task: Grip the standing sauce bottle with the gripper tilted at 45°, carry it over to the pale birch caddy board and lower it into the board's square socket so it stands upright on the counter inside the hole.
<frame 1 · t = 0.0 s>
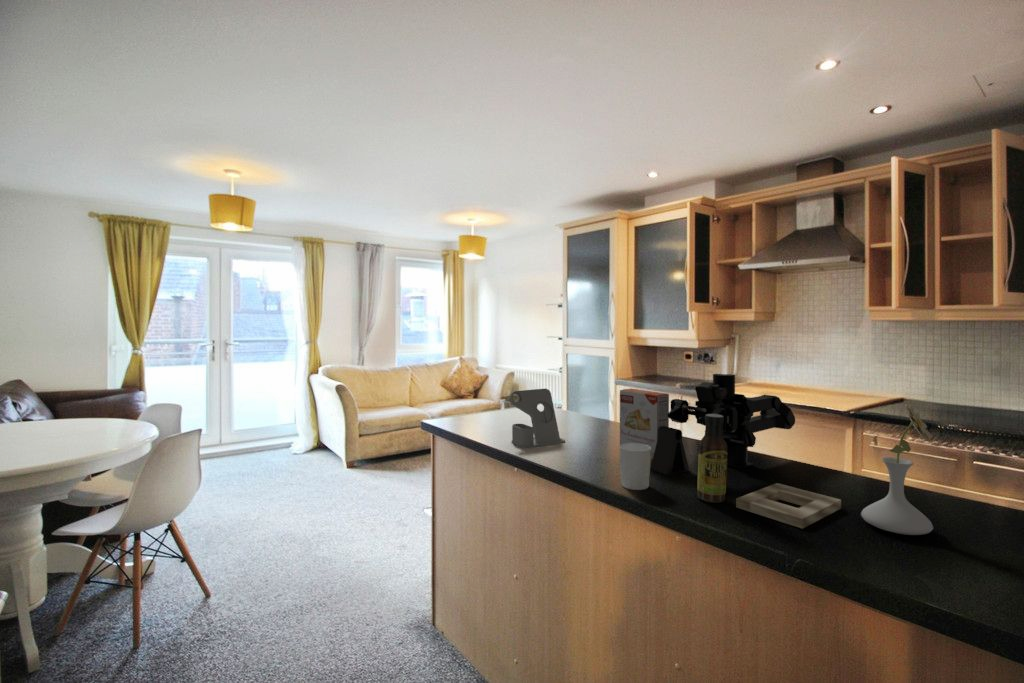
hand: (683, 418, 127), 17 cm above the counter, tool horizontal, fingers open, 9 cm apart
white cup: (634, 486, 125), on the counter
flower in vase: (898, 528, 99), on the counter
phone holder: (537, 443, 170), on the counter
door stopper: (669, 471, 137), on the counter
caddy board: (788, 507, 109), on the counter
cracker box: (643, 460, 148), on the counter
sauce bottle: (711, 500, 115), on the counter
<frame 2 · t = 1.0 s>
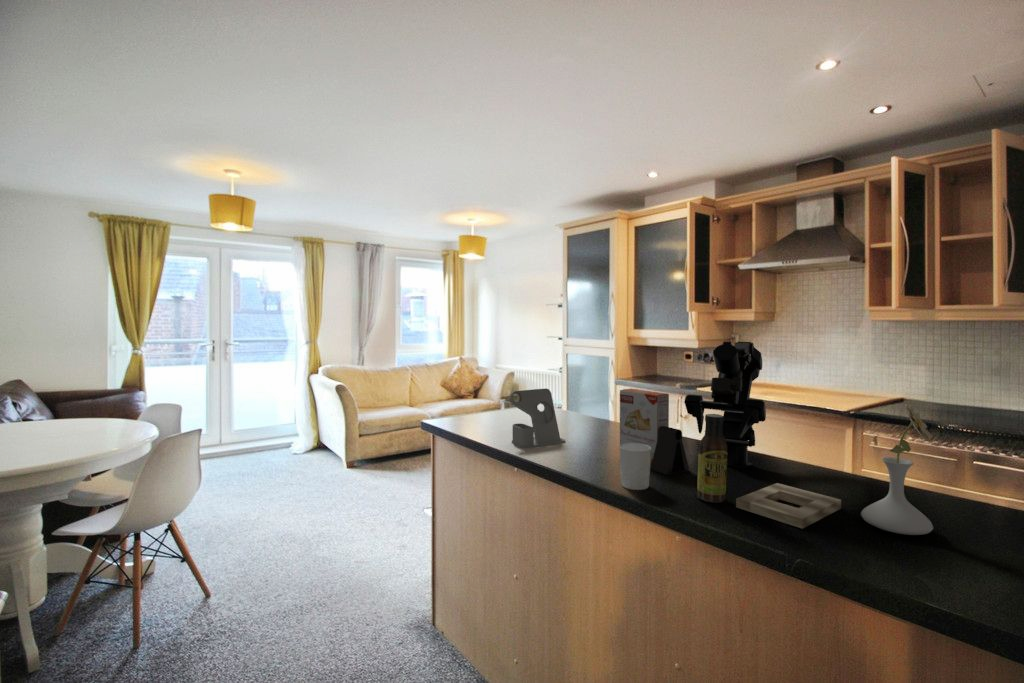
hand: (719, 434, 121), 14 cm above the counter, tool tilted 45°, fingers open, 9 cm apart
nothing on the counter moved.
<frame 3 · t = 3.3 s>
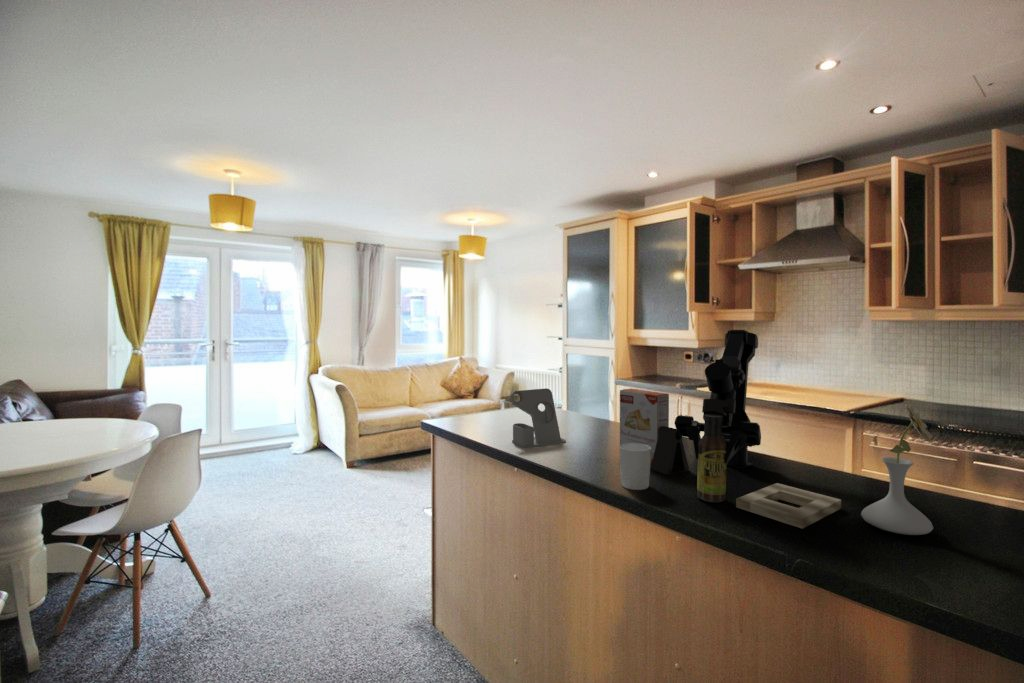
hand: (711, 460, 113), 10 cm above the counter, tool tilted 45°, fingers closed on sauce bottle, 6 cm apart
sauce bottle: (711, 500, 115), on the counter, touching gripper
everything else where it was.
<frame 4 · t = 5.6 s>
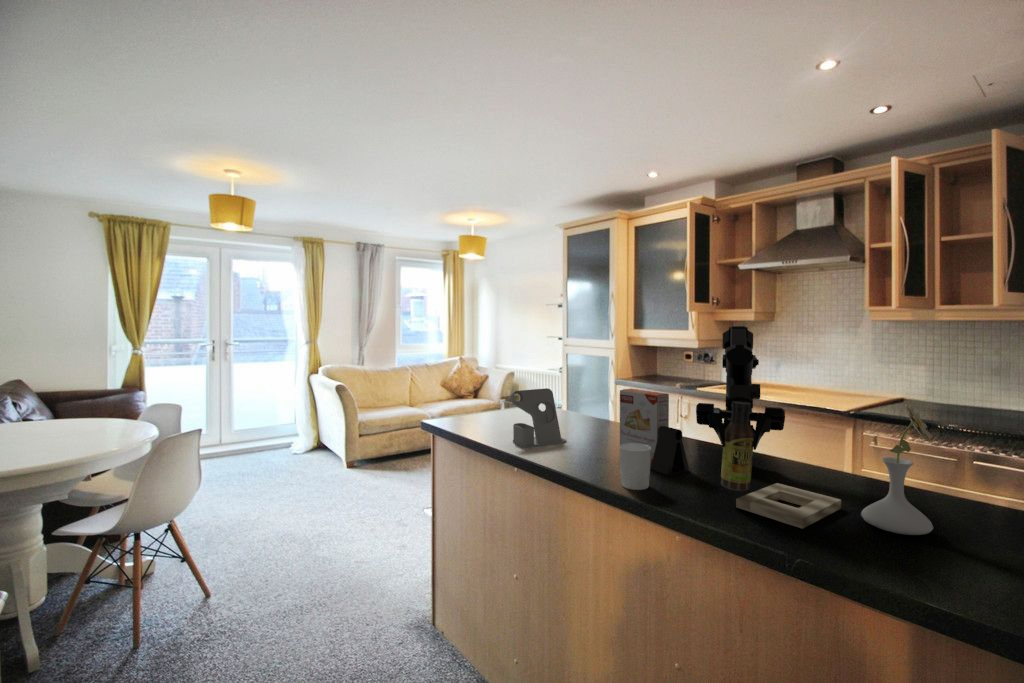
hand: (738, 447, 110), 13 cm above the counter, tool tilted 45°, fingers closed on sauce bottle, 6 cm apart
sauce bottle: (735, 488, 112), point 3 cm above the counter, touching gripper
everything else where it was.
when the fingers open (10 cm above the counter, at t = 7.6 s): sauce bottle stays where it is, resting in caddy board.
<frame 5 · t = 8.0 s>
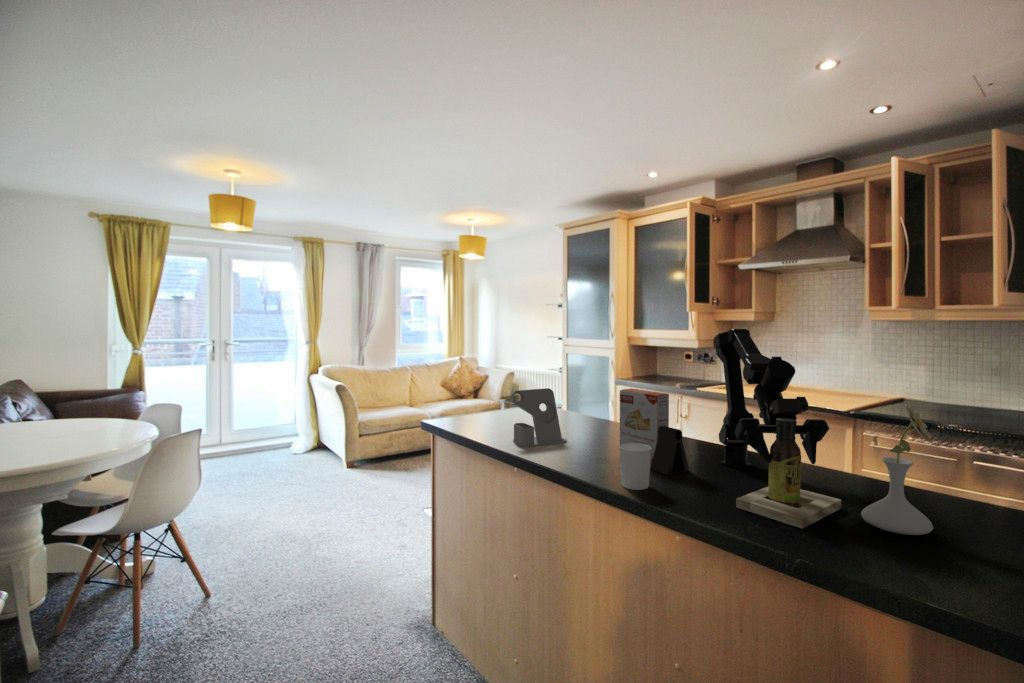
hand: (791, 462, 108), 11 cm above the counter, tool tilted 45°, fingers open, 9 cm apart
sauce bottle: (784, 508, 110), resting in caddy board
everything else where it was.
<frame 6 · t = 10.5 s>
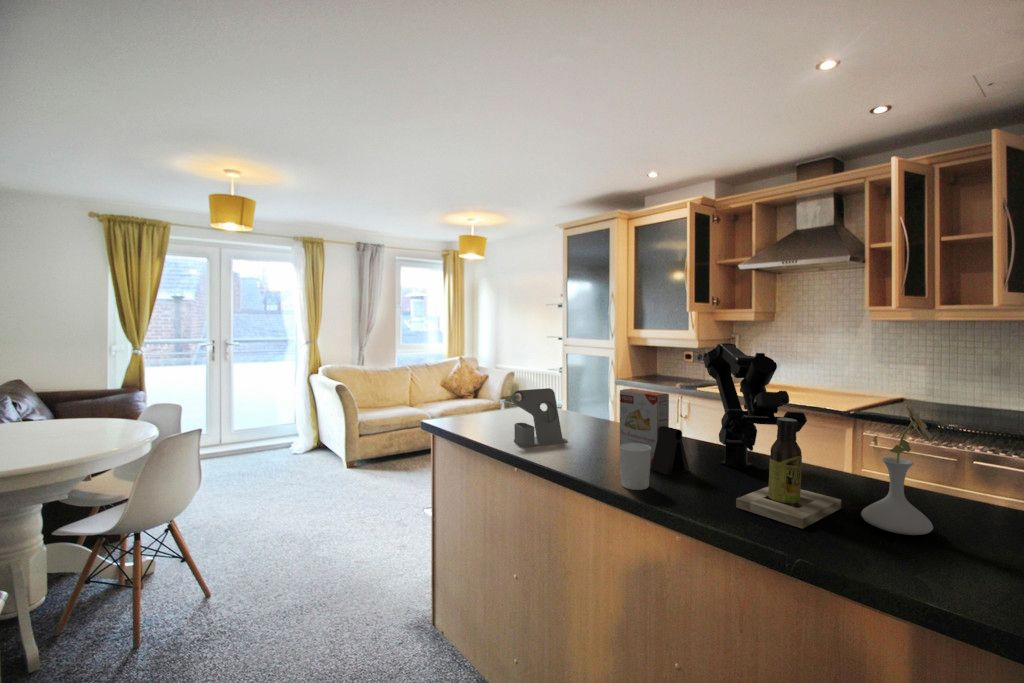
hand: (771, 451, 117), 11 cm above the counter, tool tilted 45°, fingers open, 9 cm apart
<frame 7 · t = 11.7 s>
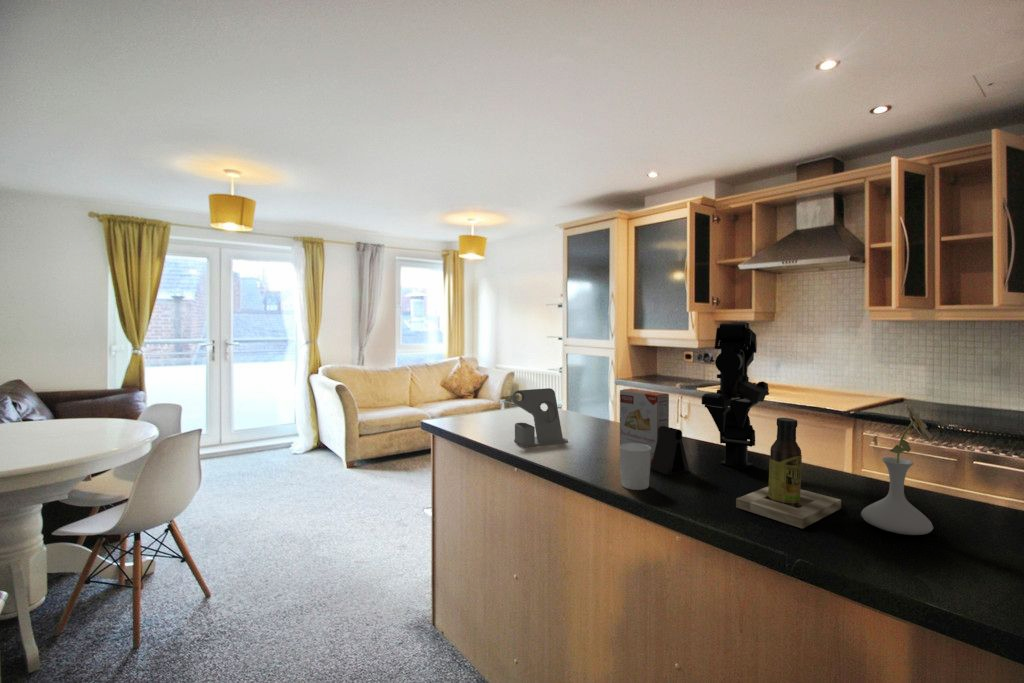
hand: (731, 429, 129), 13 cm above the counter, tool pointing down, fingers open, 9 cm apart
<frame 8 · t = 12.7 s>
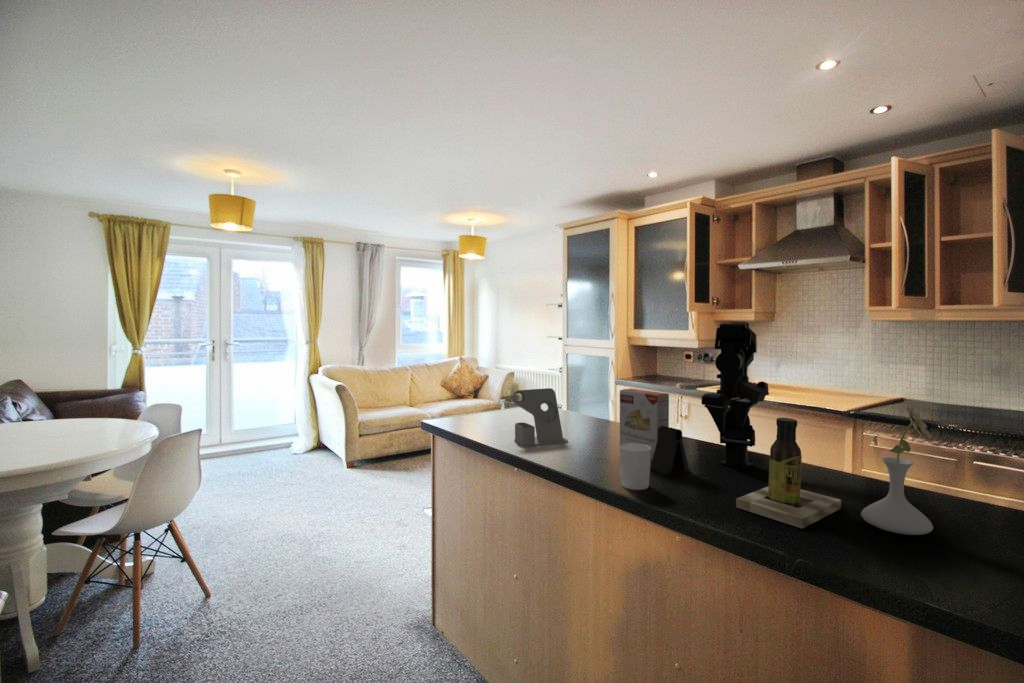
hand: (731, 429, 129), 13 cm above the counter, tool pointing down, fingers open, 9 cm apart
at the end: sauce bottle 0.8 cm off-centre on the caddy board, point 0.0 cm above the caddy board's base; sauce bottle tilted 0°; the gripper is holding nothing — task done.
